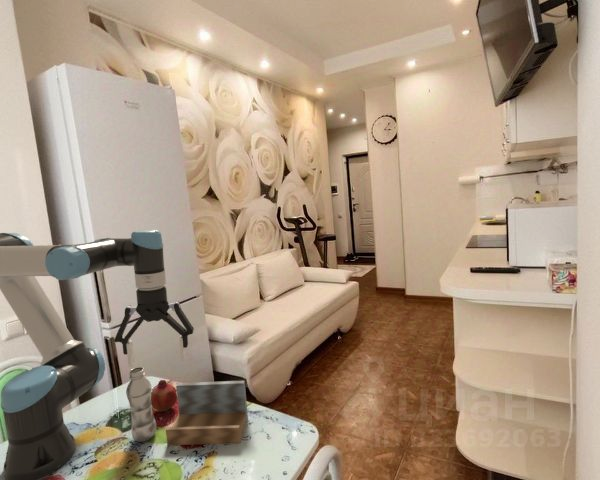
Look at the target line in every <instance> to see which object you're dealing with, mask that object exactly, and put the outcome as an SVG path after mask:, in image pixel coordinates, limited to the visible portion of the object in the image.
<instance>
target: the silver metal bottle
mask: <svg viewBox="0 0 600 480" xmlns="http://www.w3.org/2000/svg"><path fill="white" fill-rule="evenodd" d="M145 374H146V373H145V368H144V367H143V366H138V367H134V368H132V369H131V370H129V380H130V381H129V383H128V385H127V387H126V390H125V394H126V398H127V400H128V404H129V407H130V413H131V429H130V431H131V434H130V435H131V436H132V439H133V440H134V441H135V442H137V443H142V442H146V441H149V440H151V439H152V438H153V437H154V436H155V434H156V433H157V421H156V418H155V416H154V411H153V407H152V404H151V392H152V384H151V381H150V380H149V379H148V378H146V377H145Z"/></svg>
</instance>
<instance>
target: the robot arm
mask: <svg viewBox="0 0 600 480" xmlns="http://www.w3.org/2000/svg"><path fill="white" fill-rule="evenodd" d="M130 235H131V236H130V237H129V238H111V237H106V238H97V239H95V240H93V241H91V242H87V243H77V244H57V245H56V244H55V245H54V244H52V245H50V244H47V245H44V244H43V245H42V244H41V245H34V244H33V243H32V241H31V240H30V239H29V238H28V237H27V236H25V235H23V234H20V233H16V232H0V292H1V293H2V295H3V297H4V298H5V300H6V301H7V303H8V304H9V306H10V308H11V309H12V311H13V312H14V314H15V315H16V317H17V319H18V320H19V322H20V324H21V325H22V327H23V328H24V330H25V331H26V333H27V335H28V337H29V338H30V339H31V341H32V342H33V343H32V344H34V346H35V347H36V349H37V350H38V352H39V354H40V355H41V357H42V358H41V359H42V360H41V363H40V365H39V366H35V367H33V368H31V369H29V370H24V371H22V372H20V373H18V374H16V375H15V376H14V377H12V378H10V379H9V380H8V381H7V382H6V383H5V384H4V386H3V387H2V389H1V392H0V401H1V402H0V406H1V407H0V408H1V410H2V413H3V418H4V420H3V421H4V424H5V430H6V435H7V442H8V446H7V449H6V453H5V461H4V463H3V469H2V470H3V474H4V478H5V480H38V479H40V478H43V477H44V476H47V475H48V474H51V473H53V472H55V471H56V470H58V469H59V468H60V467H63V465H65V463H67V462H68V461H69V460H70V459H71V458H72V457H73V455H74V453H76V449H77V448H76V439H75V437H74V436H73V434H71V432H70V431H69V428H68V426H67V425H66V424H65V421H64V415H63V409H64V408H65V407H66V406H68V405H70V404H71V403H72V402H74V401H75V400H76V399H78V398H79V397H81V396H83V395H84V394H85V393H86V392H88V391H91V390H92V389H93V388H94V387H95V386H96V385H97V384H99V383H100V381H101V380H102V379H103V377H104V376H105V371H106V360H105V358H104V356H103V354H102V352H100V351H99V349H96V348H94V347H92V346H86V345H85V343H84V341H81V340H76V339H74V336H73V335H72V334H71V332H70V331H69V329H68V328H67V326H66V324H65V323H64V321H63V320H62V318H61V315H59V313H58V311H57V310H56V308H55V307H54V305H53V304H52V302H51V300H50V298H49V297H48V296H47V294H46V293H45V291H44V289H43V288H42V286H41V284H40V282H39V281H38V279H37V278H36V277H53V278H55V279H56V280H58V281H65V280H73V279H77V278H80V277H84V276H86V275H89V274H93V273H96V272H101V271H103V270H107V269H110V268H115V267H123V266H124V267H126V266H128V267H133V270H134V271H133V272H134V279H135V288H137V290H136V292H135V293H136V303H137V305H136V306H132V305H129V304H128V305H127V306H126V307H125V309H124V316H123V318H122V320H121V323H120V325H119V328H118V330H117V333H116V335H115V337H114V342H115V343H121V344H122V353H123V355H124V356H125V355H127V364H128V365H127V366H128V368H131V367H133V365H134V363H135V357H134V347H133V340H132V339H130V338H131V337H132V336H133V334H134V333H135V332H136V331H137V329H139V327H140V326H141V325H142V323H143V322H144V321H146V322H147V323H148V322H149V323H150V322H154V321H155V322H159V321H161V320H162V321H163V322H165V323H167V324H168V326H170V327H171V328H172V329H174V331H176V332H177V334H179V335H180V336H179V348H180V349H179V351H180V352H179V353H180V361H185V358H186V348H188V345H189V335H193V333H194V329H195V328H194V327H193V325H192V323H191V322H190V321H189V318H188V317H187V315H186V313H185V312H184V311H183V310H182V308H181V303H180V301H178V300H176V301H175V302H172V303H169V301H168V294H167V286H165V285H166V284H167V281H166V271H165V261H164V258H165V257H164V244H163V238H162V233H161V231H160V230H157V229H145V230H135V231H132V232H131V234H130ZM169 309H171V310H172V311H173V312H175V315H176V316H177V317H178V319H179V321H180V323H182V324H180V323H179V321H177V320H176V319H175V318H174V317H173V316H171V314H170V313H169V312H168V311H169ZM135 312H136V313H137V314H138V315H139V316H140V317H139V318H138V319H137V321H136V322H135V323H134V325H133V326H132V327H131V329H130V330H129V331H128V332H127V334H126V335H125V336H124V333H125V330H126V329H127V325H128V324H129V323H130V322H129V321H130V319H131V317H132V315H133V314H135ZM183 326H184V327H183ZM129 339H130V340H129Z"/></svg>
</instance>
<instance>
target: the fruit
mask: <svg viewBox="0 0 600 480" xmlns="http://www.w3.org/2000/svg"><path fill="white" fill-rule="evenodd" d="M175 387H176V386H173V385H172V384H170V383H167V381H166V380H165V379H160V380H159V381H158V383H157V386H155V387H154V388H153V389H151V404H152V409H154V410H155V411H158V412H164V411H168V410H169V409H171V408H172V407H174V405H176V403H177V401H178V398H177V389H176V388H175Z"/></svg>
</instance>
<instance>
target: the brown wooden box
mask: <svg viewBox="0 0 600 480" xmlns="http://www.w3.org/2000/svg"><path fill="white" fill-rule="evenodd" d="M245 382H246V381H245V380H226V381H225V380H223V381H198V382H197V381H195V382H178V383H177V384H176V385H175V387H176V388H175V389H176V393H177V405H178V416H177V418H176V419H175V421H174V422H173V424H172V425H171V427H170V426H167V427H166V428H165V435H166V444H167V446H181V445H182V446H183V445H184V446H185V445H188V446H189V445H190V446H191V445H216V444H217V445H222V444H224V445H226V444H241V442H242V439H243V436H244V432H245V429H246V426H247V423H248V420H249V417H248V416H249V415H248V414H249V413H248V405H247V394H246V383H245Z"/></svg>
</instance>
